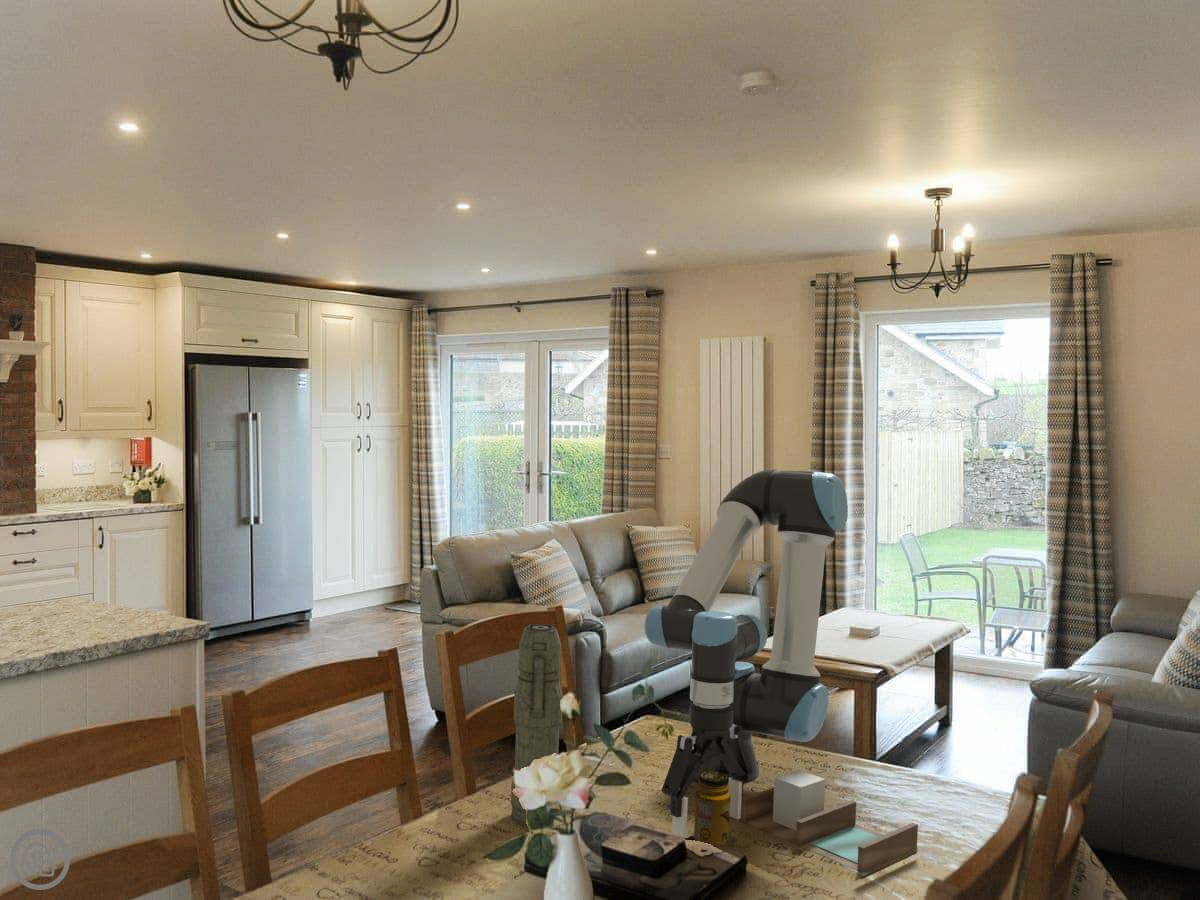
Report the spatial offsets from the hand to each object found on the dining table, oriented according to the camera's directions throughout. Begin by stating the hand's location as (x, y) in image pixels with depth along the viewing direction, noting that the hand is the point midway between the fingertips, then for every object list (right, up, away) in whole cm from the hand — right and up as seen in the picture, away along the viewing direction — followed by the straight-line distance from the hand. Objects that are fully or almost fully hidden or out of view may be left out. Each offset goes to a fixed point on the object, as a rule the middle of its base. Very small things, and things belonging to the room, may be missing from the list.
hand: (706, 825), depth 167 cm
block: (+18, -3, +9) cm, 20 cm away
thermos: (-30, -3, +10) cm, 32 cm away
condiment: (0, -4, 0) cm, 4 cm away
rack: (+22, -4, +4) cm, 22 cm away
